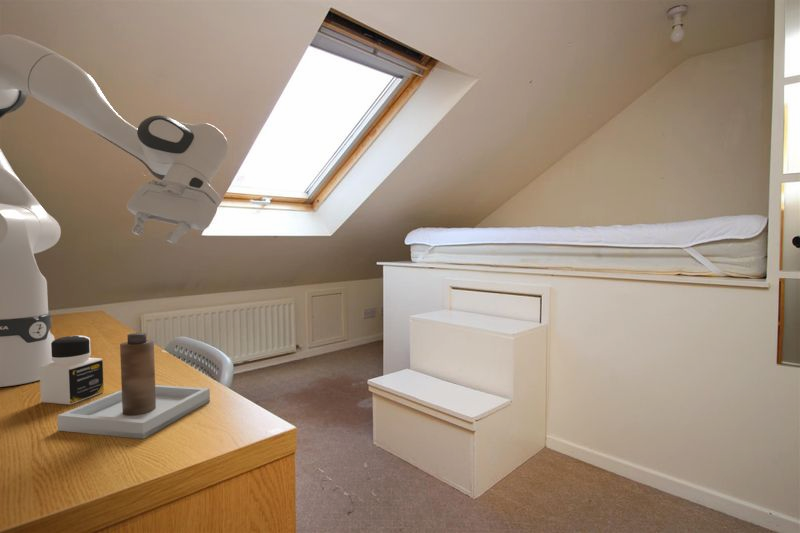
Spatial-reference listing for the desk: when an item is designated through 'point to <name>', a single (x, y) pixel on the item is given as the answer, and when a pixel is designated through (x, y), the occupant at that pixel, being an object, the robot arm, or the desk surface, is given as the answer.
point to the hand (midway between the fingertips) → (152, 237)
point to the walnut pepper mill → (137, 375)
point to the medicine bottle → (71, 372)
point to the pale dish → (110, 420)
